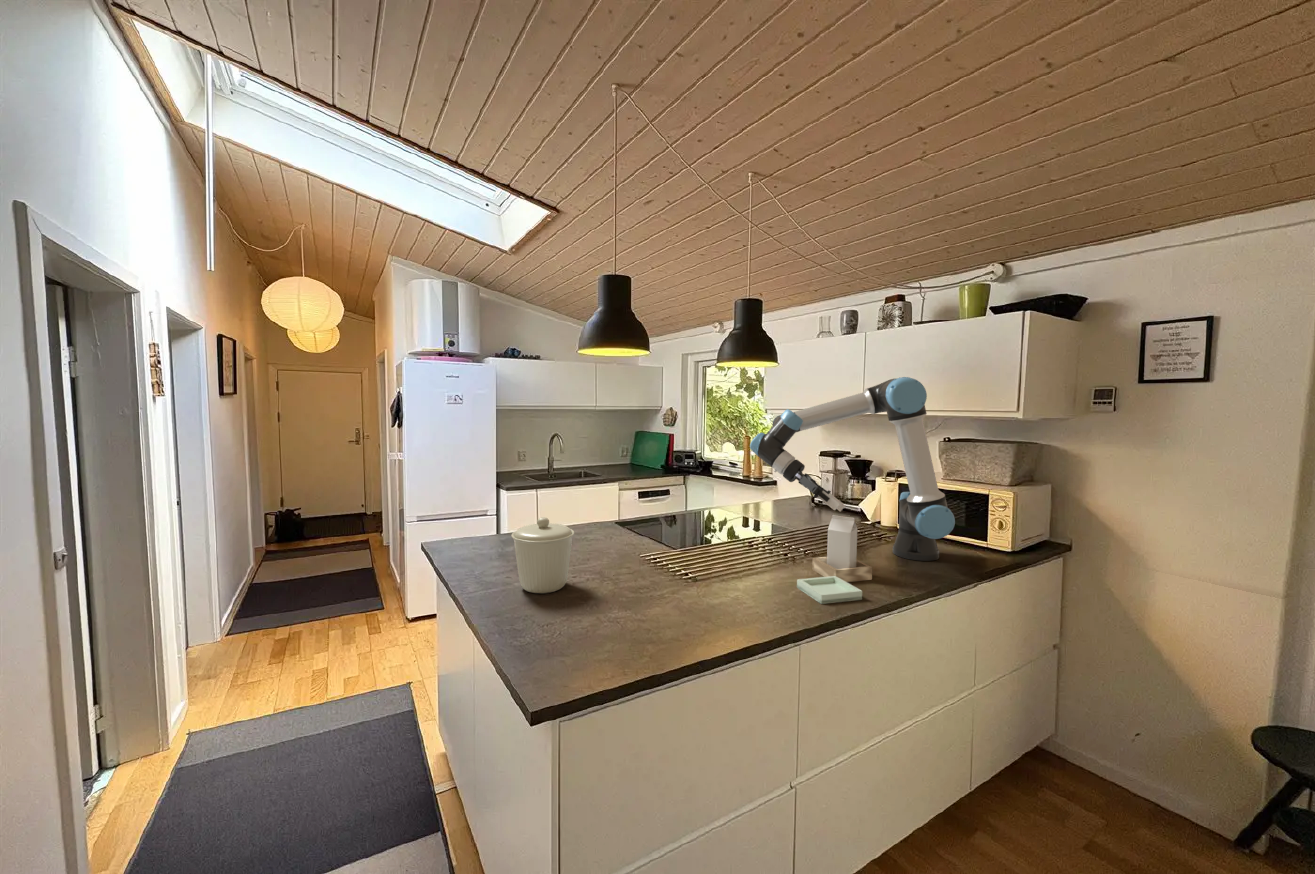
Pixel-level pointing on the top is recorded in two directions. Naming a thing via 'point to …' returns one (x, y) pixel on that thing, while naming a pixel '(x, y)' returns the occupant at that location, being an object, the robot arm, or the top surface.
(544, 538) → the canister
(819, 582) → the tray
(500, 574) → the top surface
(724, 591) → the top surface
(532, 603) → the top surface
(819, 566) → the holder
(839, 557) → the milk carton
